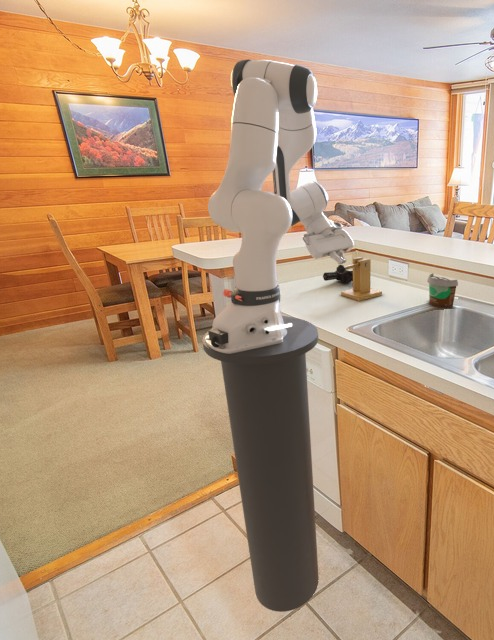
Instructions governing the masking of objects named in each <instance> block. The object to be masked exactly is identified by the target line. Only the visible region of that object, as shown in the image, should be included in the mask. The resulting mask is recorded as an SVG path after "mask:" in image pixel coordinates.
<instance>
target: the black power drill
mask: <svg viewBox="0 0 494 640" xmlns="http://www.w3.org/2000/svg"><path fill="white" fill-rule="evenodd" d="M322 278H323V281H324V282H325V281H326V282H327V281H333V280H336V281H338V282H342V283H344V284H350V283H351V282H353V270H349V269H347V270H345V272H344V273H343V274H339V273H338V272H337V270H335V271H330V272H327V271H326V272H324V273H323V275H322Z"/></svg>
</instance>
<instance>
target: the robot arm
mask: <svg viewBox="0 0 494 640" xmlns="http://www.w3.org/2000/svg"><path fill="white" fill-rule="evenodd" d="M230 86H231V90H232V93H233V95H234V101H233V108H232V112H231V113H232V115H231V126H230V142H229V154H228V159H227V165H226V168H225V171H224V174H223V175H222V176H223V177H222V179H221V181H220V183H219V186H218V187H217V189H216V190H215V191H214V192H213V193H212V194H211V195H210V197H209V199H208V202H207V211H208V215H209V217H210V219H211V220H212V222H213V223H214V224H216V225H217V226H219V227H220V228H223V230H224V229H225V230H226V231H229V232H232V233H240V234H241V244H240V248H239V251H238V252H236V253H235V254H234V256H233V258H232V266H233V267H232V268H233V274H234V283H235V286H234V289H233V290H230V289H228V288H225V289H224V290H223V291H222V296H224V297H226V298H230V302H229V304H227V306H225V308H224V309H222V311H220V312H219V314H217V315H216V316H215V317H214V319H213V321H212V327H211V330H210V329H209V330H207V332H208V333H209V335H208V336H206V337H205V344H206V345H207V346H208V347H210V348H211V349H213V350H215V351H217V352H221V353H226V354H231V353H236V352H241V351H246V350H251V349H255V348H260V347H265V346H270V345H274V344H279V343H282V342H283V338H284V337H285V336H286V335H287V330H286V327H291V326H292V323H290V324H285V325H284V321H283V318H282V316H283V314H282V310H281V309H282V308H281V290H280V285H279V284H278V272H277V254H278V249H279V246H280V242H281V240H282V238H283V237H284V235H285V234H287V233H288V231H289V230H290V228H291V227H293V226H295V225H297V224H299V223H300V224H301V225H302V226H303V227H304V229H305V232H306V233H304V234H303V236H302V241H303V242H304V244H305V247H306V249H307V251H308V253H309V254H310V256H311V257H312V258H313V259H314V260H317V259H322V258H325V257H330V259H332V260H333V261H335V262H336V263H337V264H338V265H343V264H345V263H347V258H346V257H345V253H347V252H351V251H352V249H353V248H354V247H355V242H354V240H353V239H352V237H351V236H350V234H349V233H348V232H347V231H346V230H345V229H344V226H343V224H342V223H341V222H338V221H334V220H331V219H328V217H327V216H326V215H325V214H324V211H326V208H327V206H328V204H329V195H328V193H327V191H326V189H325V187H324V186H323V185H321V184H320V183H319V182H317V181H309V182H307V183H305V184H303V185H300V186H299V187H296V188H295V189H292V190H291V179H290V177H291V176H290V175H291V171H292V170H293V168H294V166H295V165H296V164H297V163H298V162H299V161H300V160H301V159H302V158H303V157H304V156H305V155H306V154H307V153H309V152H310V151H311V149H313V147H314V145H315V143H316V140H317V123H316V117H315V113H314V107H315V106H316V103H317V100H318V83H317V80H316V76H315V74H313V71H312V70H311V69H310V68H308V67H306V66H304V65H301V64H291V63H287V62H282V61H275V60H270V59H257V60H253V59H249V58H248V59H241V60H238V61H237V62H236V63H235V64H234V66H233V68H232V69H231V73H230ZM271 174H272V181H273V182H272V183H273V192H271V191H270V190H269V191H268V190H262V189H263V186H264V183H265V181H266V179H267V178H268V177H269V175H271Z"/></svg>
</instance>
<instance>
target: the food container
mask: <svg viewBox="0 0 494 640" xmlns="http://www.w3.org/2000/svg"><path fill="white" fill-rule="evenodd" d="M426 280H427V283H428V287H429V288H428V289H429V290H428V293H429V295H428V298H429V301H428V302H429V305H431V306H433V307H436V308H443V309H444V308H447V309H448V308H453V307H454V301H455V297H456V290H457V287H458V286H459V282H458V279H449V278H447V277H439V276H435V275H434V272H433V273H430V274H429V275H428V277H427V279H426Z"/></svg>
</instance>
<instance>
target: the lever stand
mask: <svg viewBox="0 0 494 640" xmlns="http://www.w3.org/2000/svg"><path fill="white" fill-rule="evenodd" d="M361 259H364V257H363V256H359V257H353V258H352V264H355V263H357V260H360V268H359V267H354V268H352V271H353V281H352V288H351V289H346V290H342V291H340V295H341V296H342V297H345V298H348V299H351V300H354V301H357V302H361V301H364V300H368V299H373V298H375V297H379V296H382V295H383V291H382V290H378V289H375V288H373V287H372V288H371V271H372V270H371V268H372V266H371V264H372V261H371V260H372V259H371V258H365V259H364V260H361Z"/></svg>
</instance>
